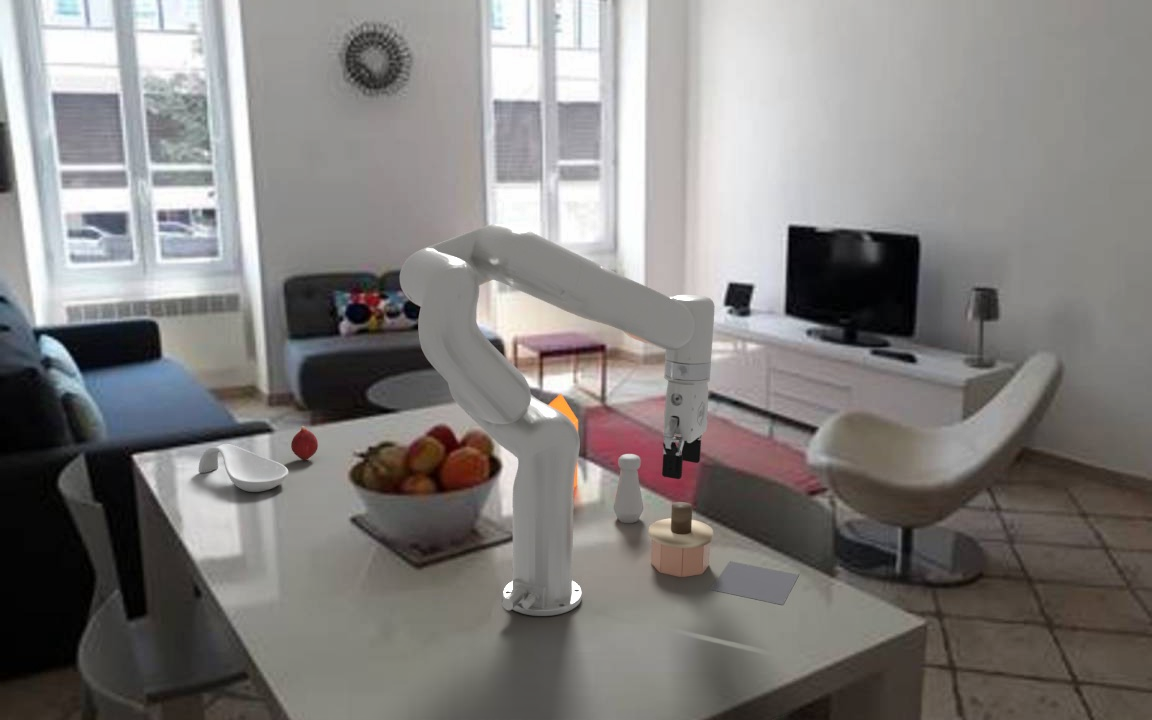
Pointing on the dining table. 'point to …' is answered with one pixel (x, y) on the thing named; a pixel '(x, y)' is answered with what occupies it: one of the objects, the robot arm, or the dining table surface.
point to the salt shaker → (628, 490)
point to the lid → (681, 529)
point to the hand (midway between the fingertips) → (681, 469)
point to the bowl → (680, 559)
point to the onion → (304, 444)
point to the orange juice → (563, 407)
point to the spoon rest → (245, 468)
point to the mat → (755, 582)
